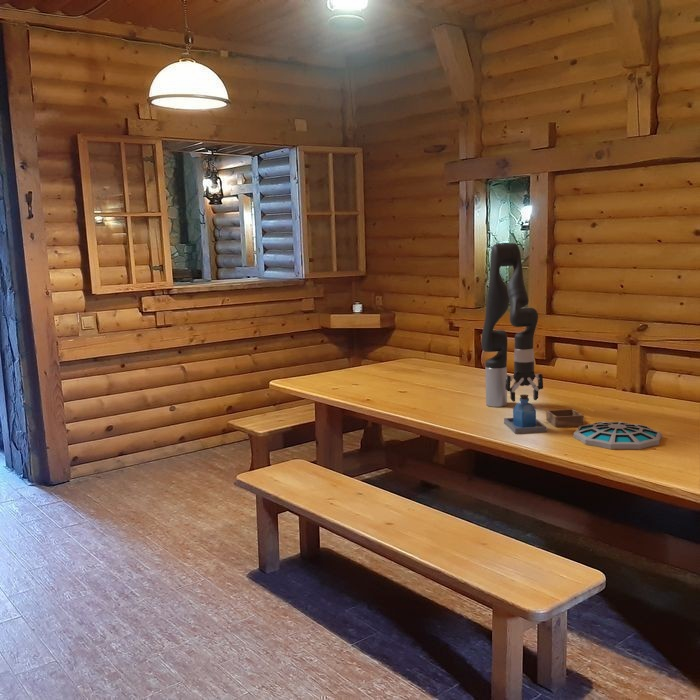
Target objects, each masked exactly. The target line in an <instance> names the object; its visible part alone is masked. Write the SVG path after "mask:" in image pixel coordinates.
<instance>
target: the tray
mask: <svg viewBox="0 0 700 700" xmlns="http://www.w3.org/2000/svg"><path fill="white" fill-rule="evenodd" d="M503 424H505V426H506V427H507V428H509V429H510V431H512V432H513V433H514V434H515V435H519V434H533V433H535V432H537V433H547V426H546V425H544V423H542V422H541V421H540V420H539V419H537V418H536V426H533V427H526V428H521V427H518V426H515V425H513V417H505V418H503Z"/></svg>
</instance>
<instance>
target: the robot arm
mask: <svg viewBox="0 0 700 700" xmlns="http://www.w3.org/2000/svg"><path fill="white" fill-rule="evenodd" d="M490 252H491V253H490V264H489V265H490V266H489V267H490V270H489V283H488V288H487V296H486V297H487V298H486V309H485V317H484V324H483V328H482V333H481V339H480V340H481V341H480V345H481V349H482V351H483V352H485V353H492V352H494V353H495V352H497V353H496V354H495V355H493V356H492V357H490V358H488V359H486V360H485V361H484V362H485V363H484V364H485V365H484V366H485V367H484V369H485V406H487V407H493V408H500V407H506V406H508V392H510V393H509V394H510V400H511V401H512V402H513V403H514V402H516V390H517V389H518V388H519V387H524V386H527V387H528V386H531V387H532V389H533V391H532V392H533V401H537V400H538V399H539V391H540V390H543V389H544V380H543V374H542V373H540V372H537V373H535V351H534V336H535V332H536V329H537V328H536V327H537V325H538V321H539V312H538V310H537V309H536V308H534V307H526V306H528V304H529V296H528V294H527V289H526V286H525V280H524V271H523V270H524V269H523V264H522V256H521V250H520V247H519V244H518V243H515V242H509V243H507V242H505V243H503V242H502V243H496V244H494V245H492V247H491V251H490ZM501 267H512V268H513V269H512V270H513V271H512V273H511V277H510V278H509V281H508V282H507V285H506V283H505V281H504V280H503V278H502V276H501V273H500V271H501ZM509 308H510V311H509V312H510V313H509V322H510V323H509V324H511V326H513V327H515V328H521V327H526V328H525V330H523V331H521V332H517V333H515V335H514V351H513V374H511V375H509V374H507V373H508V370H507V369H508V367H507V363H508V334H507V332H506V331H505V330H503V329H502V330H501V329H500V330H499V329H498V330H494V329H495V326H496V324H497V323H498V322H499V320H500V319H502V317H503V316H504V315H505V314H506V312H507V310H508V309H509ZM535 379H537V385H536V384H535V382H534V380H535ZM512 380H514V382H513V384H512V386H511V382H512Z"/></svg>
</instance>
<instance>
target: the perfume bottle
mask: <svg viewBox="0 0 700 700" xmlns="http://www.w3.org/2000/svg"><path fill="white" fill-rule="evenodd" d="M519 397H520V398H519V402H518V403H516V404H515V405H514V407H513V408H512V413H513V414H512V418H513V425H515V426H518V427H521V428H526V427H533V426H536V419H537V410H536V408H535V407H534V405H533V404H532V403H530V402H529V401H530V398H529V394H520V396H519Z"/></svg>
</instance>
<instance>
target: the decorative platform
mask: <svg viewBox="0 0 700 700" xmlns="http://www.w3.org/2000/svg"><path fill="white" fill-rule="evenodd" d="M662 435H663V433H662V432H661V431H658V430H655V429H654V428H651V427H649V426H647V425H644V424H638V423H630V422H629V423H628V422H624V421H614V422H613V421H597V422H594V423H590V424H584V425H583V426H577V429H576V430H575V431H574V432H573V438H574V439H576V440H578V441H579V442H581V441H582V443H583V444H584V445H585V444H586V445H587V446H592V447H598V448H603V449H608V450H643V449H647V448H650V447H651V448H652V447H655V446H659V445H660V440H661V439H662V437H663V436H662Z"/></svg>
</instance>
